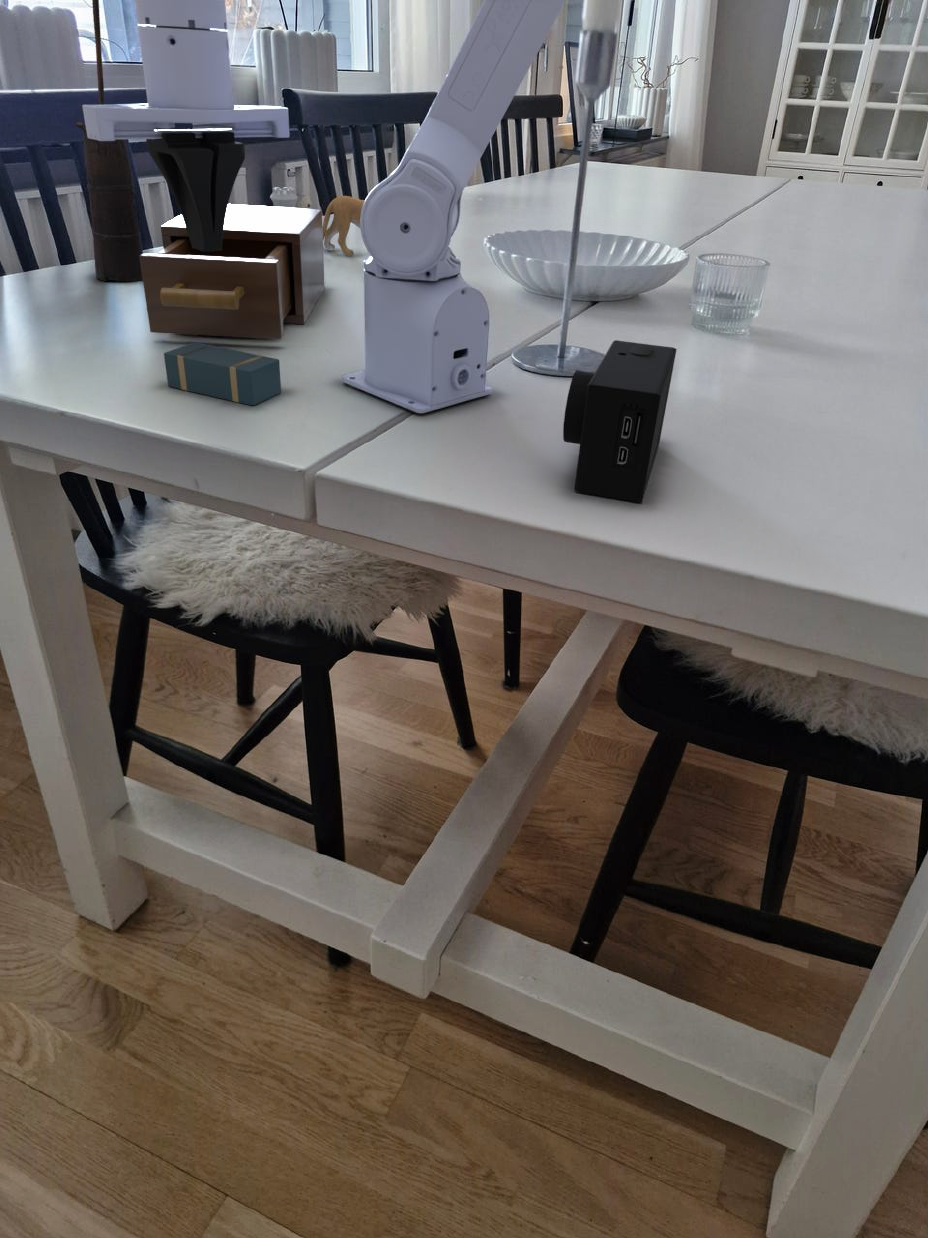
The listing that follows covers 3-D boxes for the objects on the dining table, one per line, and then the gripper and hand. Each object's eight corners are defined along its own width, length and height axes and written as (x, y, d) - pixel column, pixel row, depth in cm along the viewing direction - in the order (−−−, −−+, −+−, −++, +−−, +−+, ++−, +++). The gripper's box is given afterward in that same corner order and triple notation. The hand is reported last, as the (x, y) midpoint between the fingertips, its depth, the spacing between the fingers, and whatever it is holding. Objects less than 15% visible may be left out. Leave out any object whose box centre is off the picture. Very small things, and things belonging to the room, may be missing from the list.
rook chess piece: (298, 265, 105) (294, 192, 101) (263, 261, 106) (258, 189, 101) (310, 258, 109) (307, 187, 104) (277, 254, 109) (272, 184, 105)
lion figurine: (420, 250, 117) (422, 175, 112) (427, 258, 112) (429, 181, 108) (310, 248, 114) (307, 172, 109) (313, 257, 109) (310, 177, 104)
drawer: (272, 353, 72) (266, 273, 68) (134, 346, 72) (121, 266, 68) (305, 301, 87) (302, 234, 83) (191, 295, 86) (183, 227, 83)
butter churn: (89, 293, 89) (28, -50, 74) (55, 274, 95) (-9, -47, 79) (174, 283, 94) (133, -39, 79) (136, 266, 100) (91, -36, 85)
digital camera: (583, 433, 63) (596, 335, 59) (659, 444, 62) (677, 345, 58) (555, 489, 54) (567, 379, 50) (641, 504, 53) (661, 392, 49)
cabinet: (304, 324, 83) (299, 233, 79) (172, 317, 83) (160, 225, 78) (324, 289, 95) (321, 209, 91) (209, 283, 95) (201, 202, 91)
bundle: (282, 392, 67) (279, 358, 65) (253, 406, 64) (250, 371, 62) (198, 374, 69) (194, 341, 68) (167, 386, 66) (162, 352, 65)
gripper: (246, 33, 64) (260, 232, 71) (47, 20, 55) (88, 248, 63) (301, 36, 60) (310, 246, 67) (96, 23, 51) (133, 266, 58)
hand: (206, 249), depth 65 cm, fingers closed
